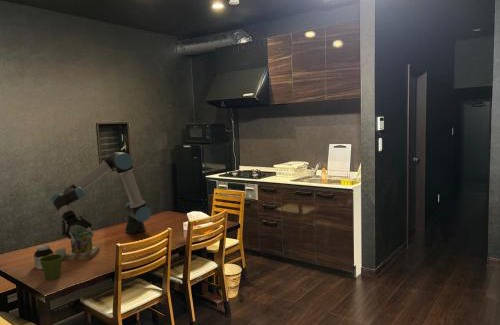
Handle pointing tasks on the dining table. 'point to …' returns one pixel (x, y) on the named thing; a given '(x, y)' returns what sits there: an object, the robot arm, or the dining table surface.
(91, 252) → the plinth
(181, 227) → the dining table surface
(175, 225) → the dining table surface
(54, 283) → the dining table surface
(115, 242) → the dining table surface
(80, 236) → the chalk box
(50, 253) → the spread jar
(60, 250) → the grey rounded cylinder
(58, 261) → the plant pot
